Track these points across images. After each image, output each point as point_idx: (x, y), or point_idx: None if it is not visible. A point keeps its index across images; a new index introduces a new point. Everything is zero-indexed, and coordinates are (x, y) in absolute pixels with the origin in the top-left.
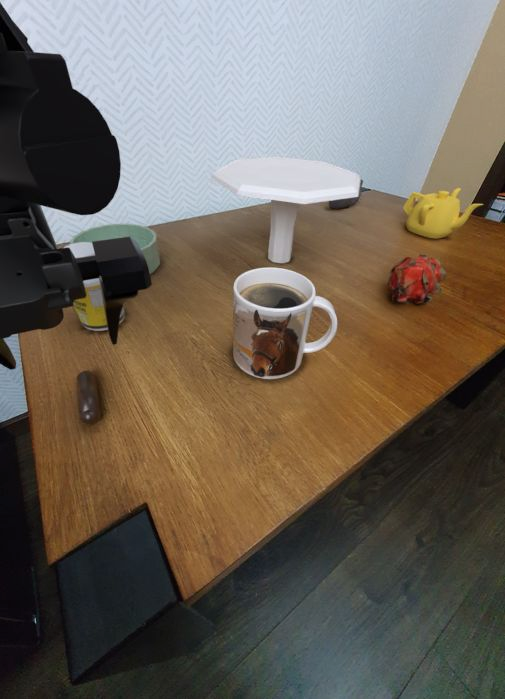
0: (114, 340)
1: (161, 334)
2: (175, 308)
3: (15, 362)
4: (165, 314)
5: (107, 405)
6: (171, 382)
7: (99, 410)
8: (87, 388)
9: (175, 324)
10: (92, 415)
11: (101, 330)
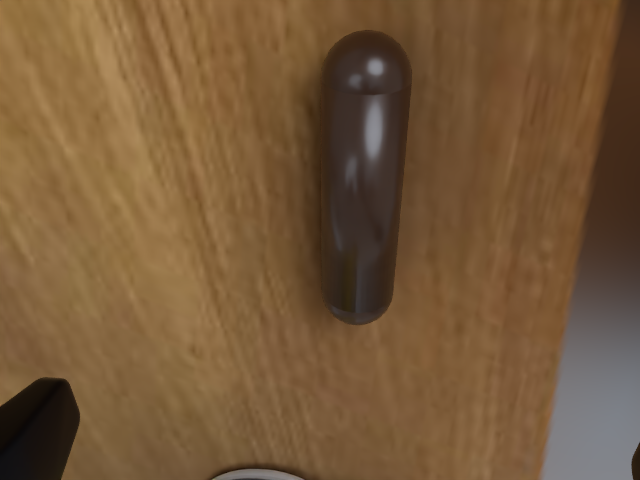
0: (22, 402)
1: None
2: None
3: (636, 464)
4: None
5: (297, 125)
6: (12, 132)
7: (321, 88)
8: (348, 224)
9: None
10: (349, 56)
11: (281, 473)
